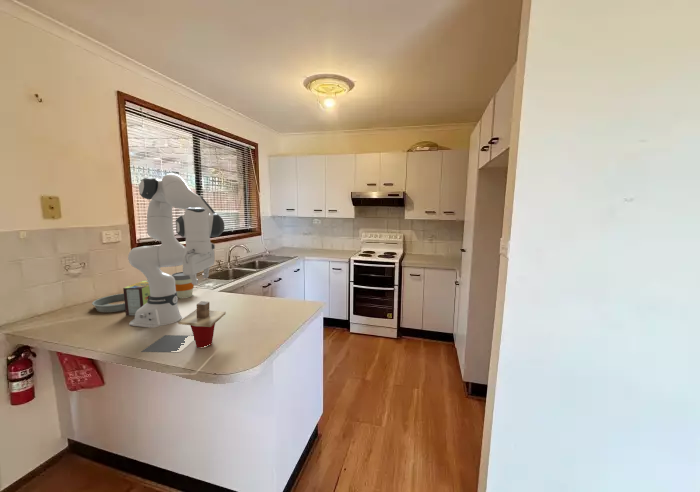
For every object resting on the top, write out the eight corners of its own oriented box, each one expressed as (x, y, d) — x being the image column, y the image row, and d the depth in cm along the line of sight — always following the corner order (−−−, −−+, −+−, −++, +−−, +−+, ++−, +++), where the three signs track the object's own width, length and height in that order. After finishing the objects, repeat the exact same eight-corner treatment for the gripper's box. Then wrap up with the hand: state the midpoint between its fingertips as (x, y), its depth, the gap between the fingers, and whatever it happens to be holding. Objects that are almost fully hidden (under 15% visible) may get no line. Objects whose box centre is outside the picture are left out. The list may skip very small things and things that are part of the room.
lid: (178, 324, 114) (177, 307, 113) (196, 311, 127) (196, 296, 126) (210, 327, 114) (210, 310, 113) (225, 314, 127) (225, 298, 126)
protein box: (163, 306, 169) (161, 280, 166) (144, 316, 153) (141, 288, 151) (146, 305, 169) (143, 280, 167) (125, 315, 154) (122, 287, 151)
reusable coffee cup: (179, 300, 179) (177, 277, 177) (169, 296, 186) (167, 274, 183) (199, 295, 189) (197, 273, 187) (189, 292, 196) (187, 270, 194)
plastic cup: (202, 354, 115) (201, 325, 113) (184, 348, 119) (182, 321, 117) (224, 342, 125) (222, 316, 123) (206, 338, 129) (204, 312, 127)
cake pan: (153, 304, 173) (153, 296, 172) (102, 317, 152) (101, 308, 151) (135, 296, 186) (135, 290, 185) (86, 307, 165) (85, 300, 164)
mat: (140, 352, 116) (140, 351, 116) (164, 336, 130) (164, 335, 130) (180, 353, 116) (180, 352, 116) (199, 336, 130) (199, 335, 130)
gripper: (194, 251, 106) (196, 288, 108) (216, 244, 126) (218, 274, 128) (176, 251, 106) (179, 288, 108) (201, 244, 126) (203, 274, 128)
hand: (200, 280), depth 118 cm, fingers open, 8 cm apart
